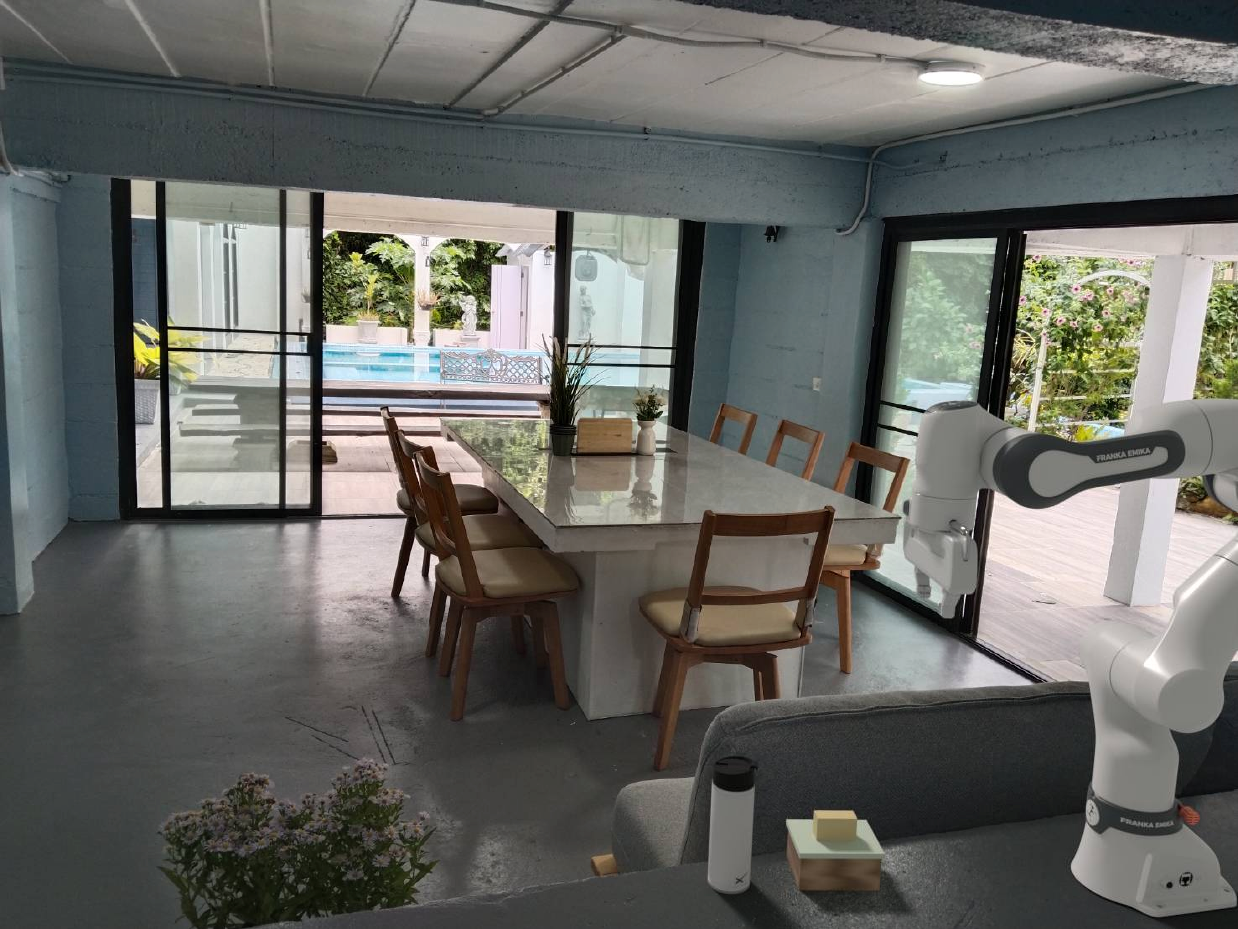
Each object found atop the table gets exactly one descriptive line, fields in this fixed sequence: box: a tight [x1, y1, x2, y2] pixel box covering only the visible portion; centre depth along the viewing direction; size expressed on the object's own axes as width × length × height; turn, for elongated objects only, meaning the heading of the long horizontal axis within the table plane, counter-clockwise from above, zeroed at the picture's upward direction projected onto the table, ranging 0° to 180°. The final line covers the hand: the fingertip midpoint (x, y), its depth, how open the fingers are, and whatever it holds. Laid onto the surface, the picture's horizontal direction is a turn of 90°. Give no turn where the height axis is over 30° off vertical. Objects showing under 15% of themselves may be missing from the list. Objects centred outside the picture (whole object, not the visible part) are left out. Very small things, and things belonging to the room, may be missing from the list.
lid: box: [785, 809, 886, 860], centre depth 147 cm, size 13×10×5 cm
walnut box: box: [786, 829, 883, 891], centre depth 148 cm, size 12×9×6 cm
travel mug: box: [707, 755, 759, 895], centre depth 144 cm, size 6×7×20 cm
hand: (934, 606), depth 142 cm, fingers open, 8 cm apart
